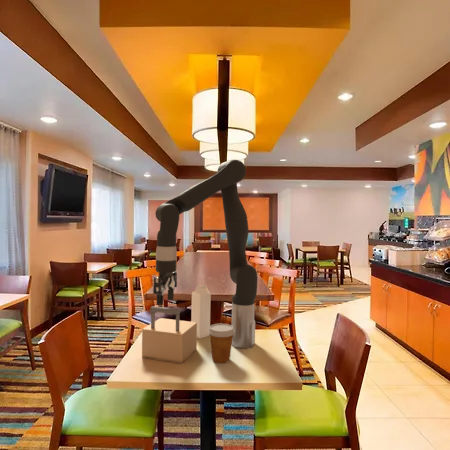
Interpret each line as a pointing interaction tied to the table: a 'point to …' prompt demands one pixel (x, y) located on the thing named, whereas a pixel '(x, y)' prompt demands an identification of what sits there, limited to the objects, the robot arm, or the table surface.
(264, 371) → the table surface
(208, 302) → the milk
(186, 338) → the carton
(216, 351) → the disposable coffee cup
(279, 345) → the table surface
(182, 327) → the carton flap
